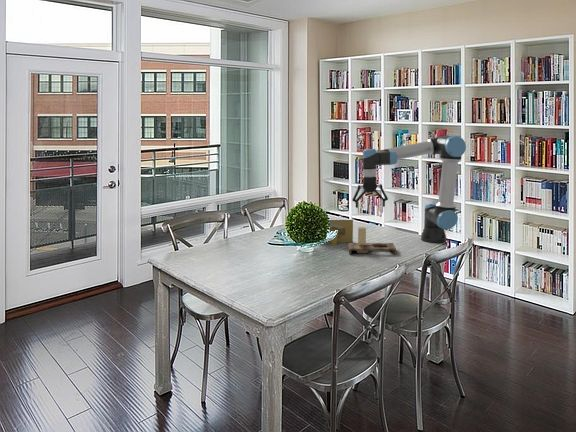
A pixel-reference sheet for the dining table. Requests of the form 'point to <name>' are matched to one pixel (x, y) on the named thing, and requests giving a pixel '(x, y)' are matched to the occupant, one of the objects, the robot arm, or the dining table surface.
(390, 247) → the keyhole plate
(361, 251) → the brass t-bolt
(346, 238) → the cardboard box
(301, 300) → the dining table surface
